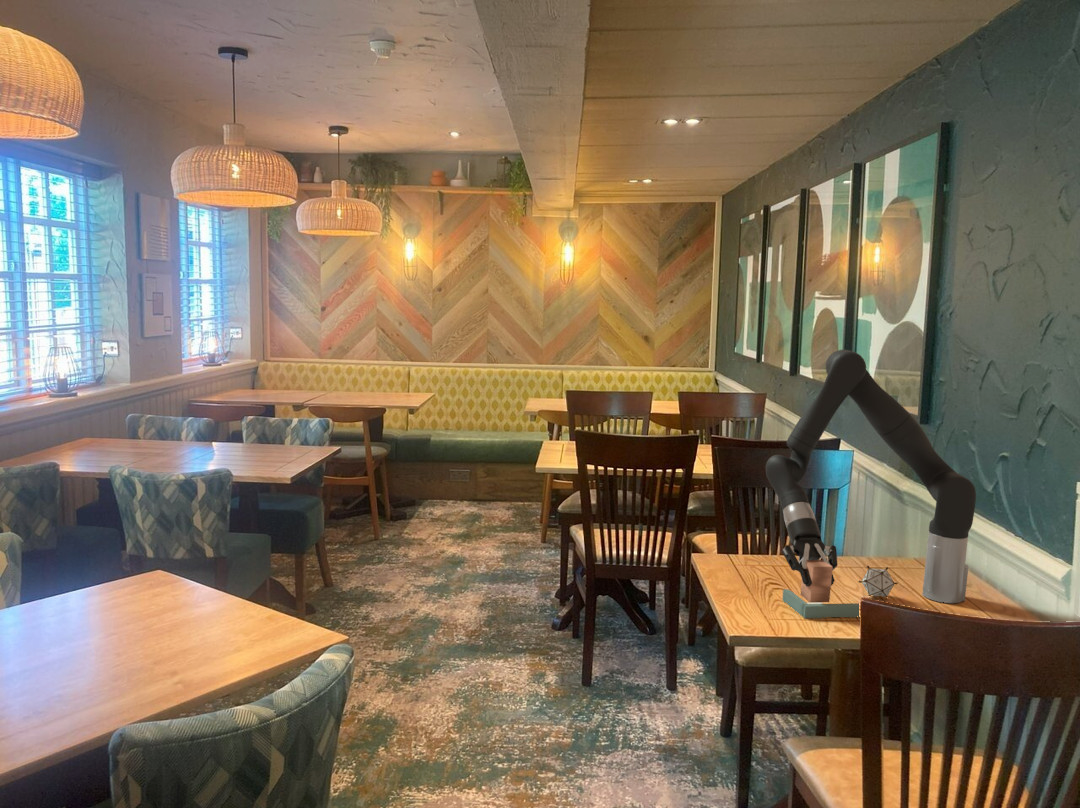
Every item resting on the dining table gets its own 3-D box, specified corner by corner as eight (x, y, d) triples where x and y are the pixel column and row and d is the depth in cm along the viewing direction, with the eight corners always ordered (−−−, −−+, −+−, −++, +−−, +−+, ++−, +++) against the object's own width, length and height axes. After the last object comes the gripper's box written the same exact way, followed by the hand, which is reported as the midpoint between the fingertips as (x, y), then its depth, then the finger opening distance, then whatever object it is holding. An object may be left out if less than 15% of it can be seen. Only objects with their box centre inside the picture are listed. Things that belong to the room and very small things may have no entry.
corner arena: (840, 600, 204) (841, 588, 203) (866, 617, 192) (867, 605, 192) (782, 600, 201) (783, 589, 201) (804, 618, 190) (805, 606, 189)
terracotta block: (819, 594, 199) (822, 560, 198) (829, 602, 194) (832, 566, 193) (800, 595, 198) (803, 560, 197) (810, 602, 193) (813, 566, 192)
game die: (880, 613, 206) (890, 592, 199) (849, 594, 210) (858, 573, 203) (896, 591, 210) (906, 569, 203) (866, 573, 215) (875, 551, 208)
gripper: (780, 516, 200) (798, 578, 189) (833, 516, 202) (854, 578, 192) (769, 530, 206) (786, 591, 195) (821, 531, 208) (840, 591, 197)
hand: (820, 584), depth 193 cm, fingers closed on terracotta block, 5 cm apart
